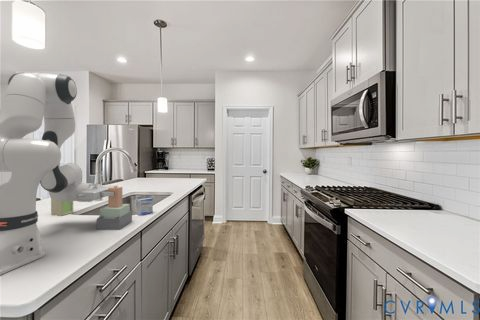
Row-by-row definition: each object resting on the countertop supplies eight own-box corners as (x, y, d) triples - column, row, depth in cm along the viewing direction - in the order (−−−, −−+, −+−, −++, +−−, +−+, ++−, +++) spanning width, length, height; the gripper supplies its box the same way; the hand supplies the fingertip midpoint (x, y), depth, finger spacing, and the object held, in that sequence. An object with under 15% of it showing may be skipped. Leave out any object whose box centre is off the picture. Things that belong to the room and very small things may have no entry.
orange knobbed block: (118, 207, 115) (118, 186, 115) (108, 207, 115) (108, 186, 115) (122, 205, 120) (122, 185, 119) (112, 205, 119) (113, 185, 119)
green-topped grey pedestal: (119, 229, 111) (119, 209, 110) (96, 229, 110) (96, 209, 110) (131, 221, 125) (132, 203, 124) (111, 220, 124) (112, 203, 124)
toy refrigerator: (61, 216, 132) (61, 177, 131) (50, 215, 133) (50, 176, 133) (74, 212, 139) (74, 175, 139) (63, 211, 141) (63, 175, 140)
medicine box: (140, 215, 135) (140, 200, 135) (135, 214, 138) (135, 199, 138) (152, 213, 142) (153, 198, 141) (148, 212, 144) (148, 197, 144)
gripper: (73, 189, 106) (106, 189, 107) (99, 183, 127) (126, 183, 127) (73, 203, 106) (106, 203, 107) (99, 195, 127) (126, 195, 127)
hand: (117, 192), depth 117 cm, fingers open, 5 cm apart
